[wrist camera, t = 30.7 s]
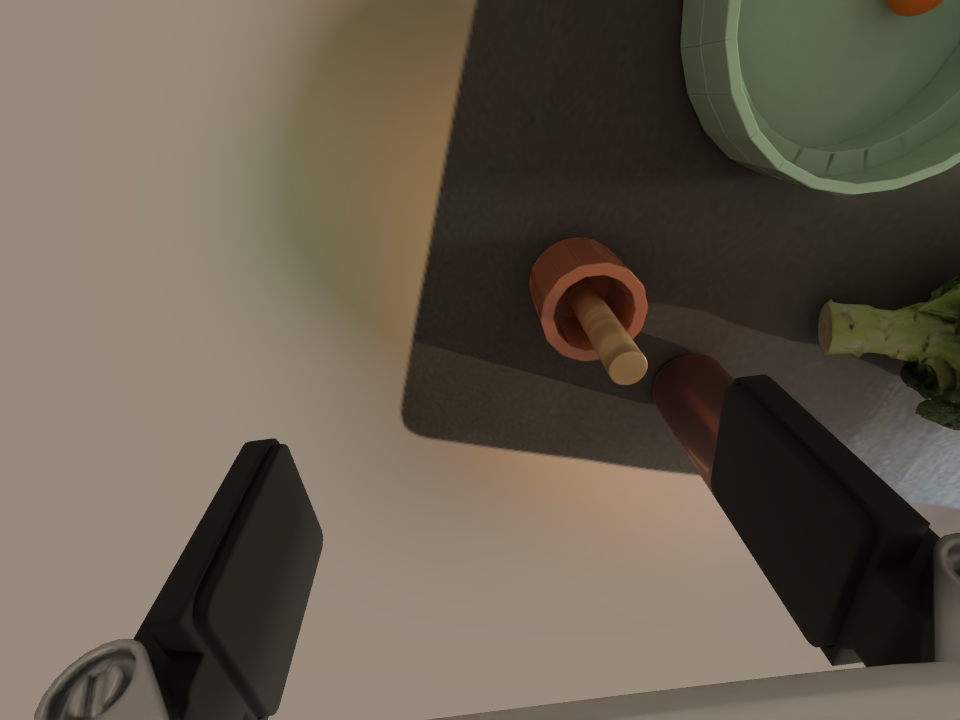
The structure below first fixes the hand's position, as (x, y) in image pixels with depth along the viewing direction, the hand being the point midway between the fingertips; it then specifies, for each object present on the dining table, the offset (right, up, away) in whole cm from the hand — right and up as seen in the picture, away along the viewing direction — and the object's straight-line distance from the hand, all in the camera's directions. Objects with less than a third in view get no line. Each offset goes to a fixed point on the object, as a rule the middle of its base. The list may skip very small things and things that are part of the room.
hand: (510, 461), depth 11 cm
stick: (+6, +8, +25) cm, 27 cm away
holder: (+6, +8, +25) cm, 27 cm away
